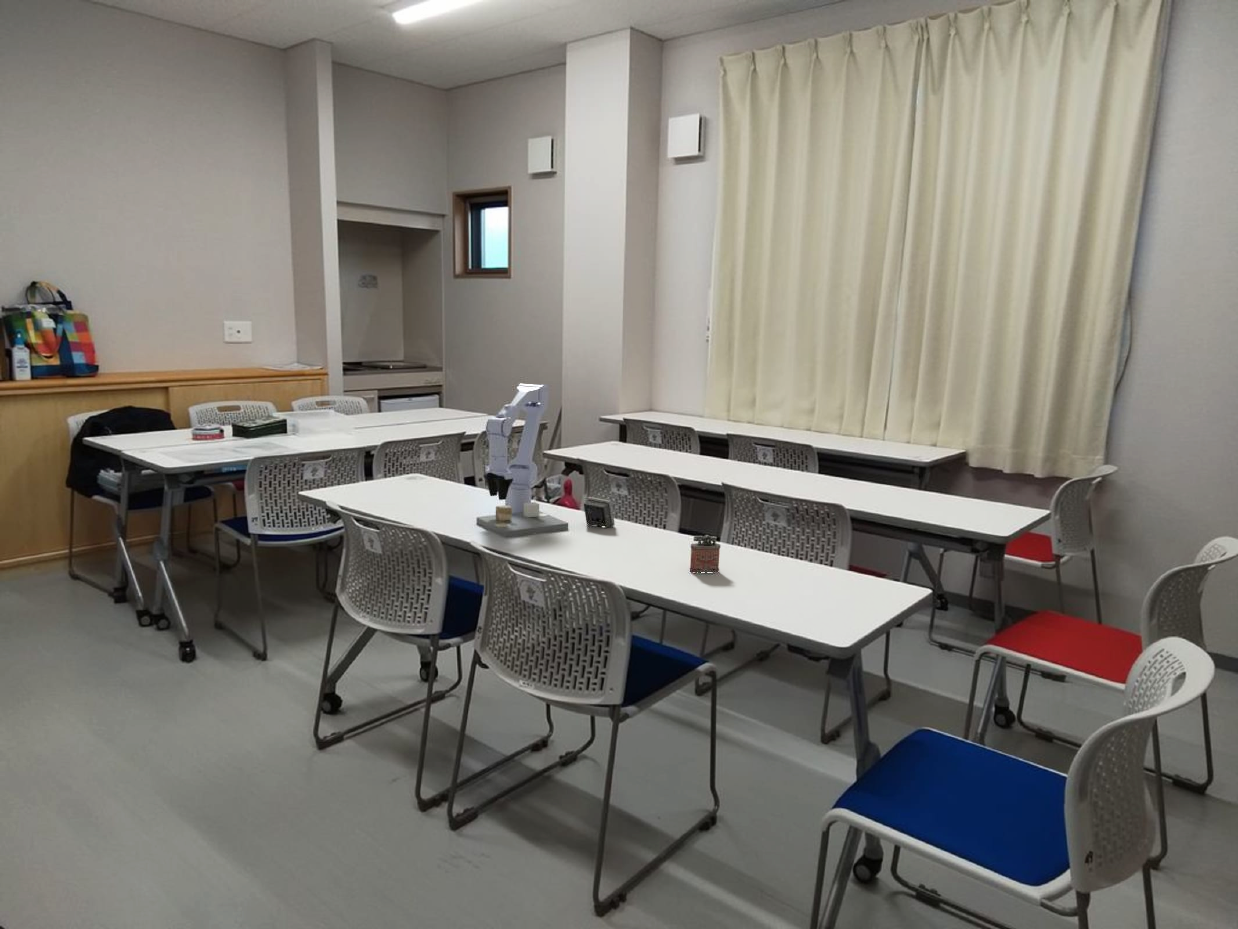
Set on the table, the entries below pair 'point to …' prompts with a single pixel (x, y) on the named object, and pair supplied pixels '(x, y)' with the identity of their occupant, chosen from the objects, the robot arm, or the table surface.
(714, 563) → the lighter
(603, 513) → the electrical switch
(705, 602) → the table surface
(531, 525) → the grey base plate
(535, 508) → the switch white
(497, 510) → the wooden block
